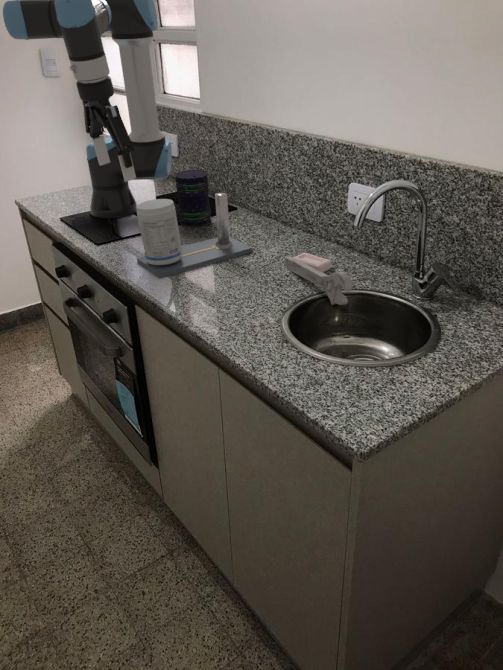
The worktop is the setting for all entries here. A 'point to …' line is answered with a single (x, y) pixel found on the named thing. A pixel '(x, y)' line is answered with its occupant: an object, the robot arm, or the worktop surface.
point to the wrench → (322, 280)
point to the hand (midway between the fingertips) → (117, 171)
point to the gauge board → (197, 257)
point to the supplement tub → (159, 231)
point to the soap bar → (315, 261)
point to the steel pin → (222, 220)
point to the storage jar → (193, 198)
